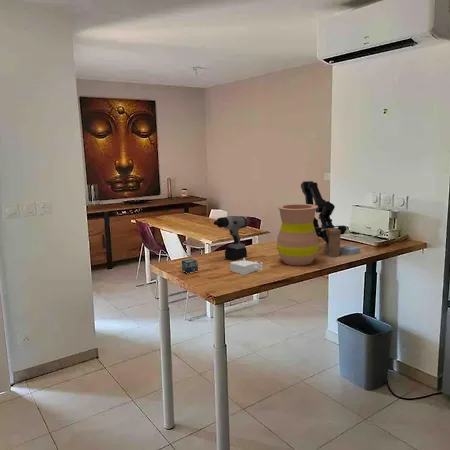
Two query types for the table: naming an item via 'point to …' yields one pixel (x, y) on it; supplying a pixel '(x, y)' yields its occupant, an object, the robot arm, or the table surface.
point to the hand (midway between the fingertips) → (333, 243)
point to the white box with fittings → (245, 266)
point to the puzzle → (189, 265)
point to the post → (333, 242)
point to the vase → (297, 234)
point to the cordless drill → (233, 224)
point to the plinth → (350, 250)
